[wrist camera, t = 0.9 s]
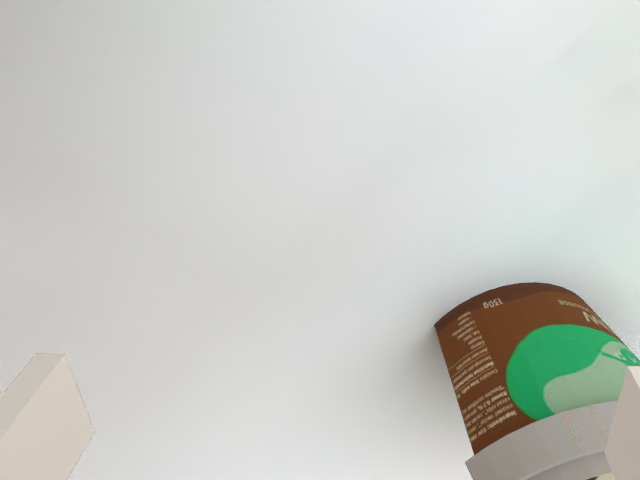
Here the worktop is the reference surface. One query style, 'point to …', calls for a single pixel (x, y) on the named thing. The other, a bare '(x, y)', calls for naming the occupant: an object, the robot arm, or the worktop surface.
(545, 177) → the worktop surface
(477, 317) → the food container
